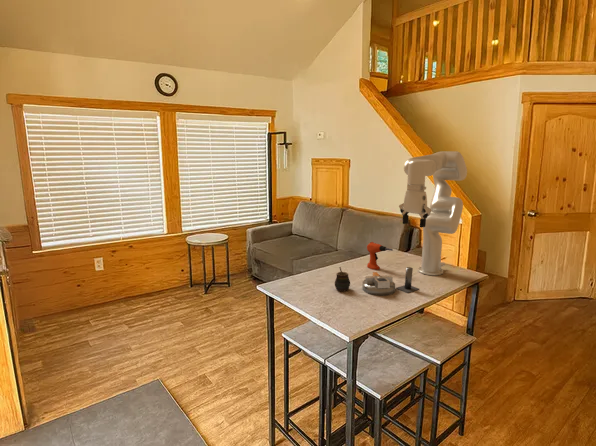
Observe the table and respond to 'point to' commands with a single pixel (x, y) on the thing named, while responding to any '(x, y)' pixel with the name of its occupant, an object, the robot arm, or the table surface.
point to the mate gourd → (342, 281)
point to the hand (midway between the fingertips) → (413, 225)
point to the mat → (407, 289)
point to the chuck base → (375, 291)
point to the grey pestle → (408, 278)
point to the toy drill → (373, 249)
